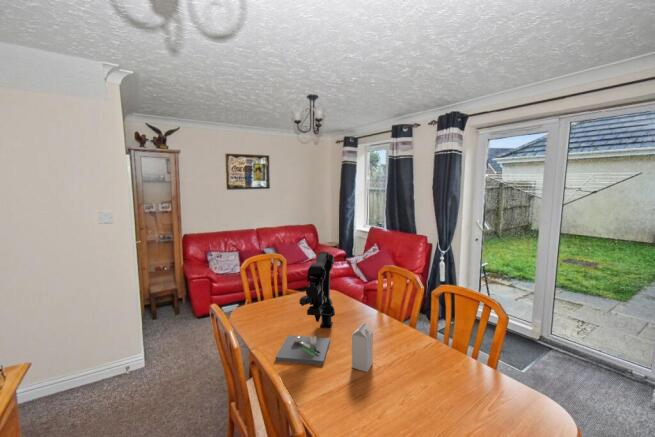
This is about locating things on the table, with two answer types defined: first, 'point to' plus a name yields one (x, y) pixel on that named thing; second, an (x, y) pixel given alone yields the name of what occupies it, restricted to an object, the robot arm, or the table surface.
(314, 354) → the board
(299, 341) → the lever
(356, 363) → the milk carton
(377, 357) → the table surface
